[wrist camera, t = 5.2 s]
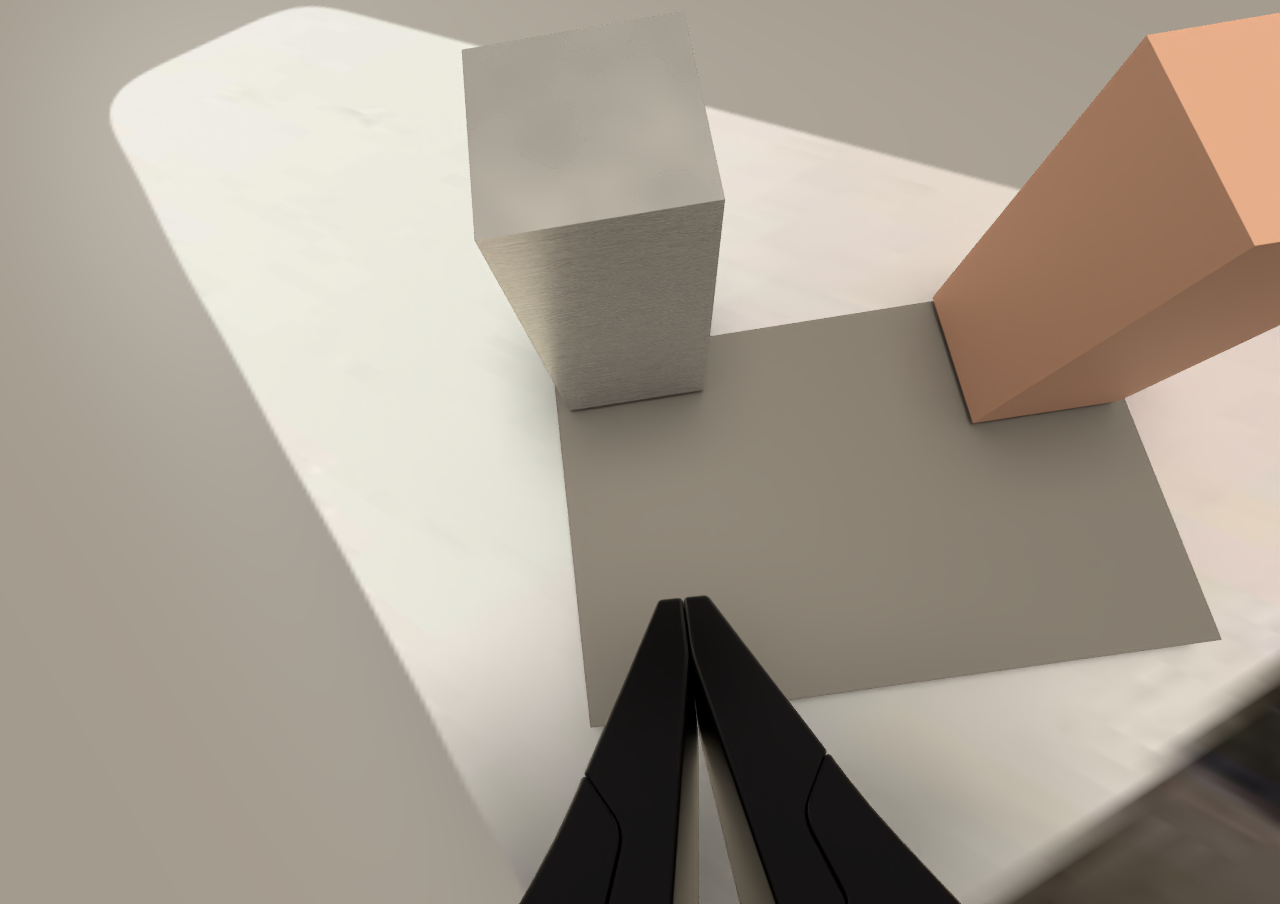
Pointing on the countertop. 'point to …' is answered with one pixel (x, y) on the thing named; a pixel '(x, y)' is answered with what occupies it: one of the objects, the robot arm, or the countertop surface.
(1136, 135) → the peach orange rectangular block
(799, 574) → the thin grey base plate
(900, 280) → the countertop surface
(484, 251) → the brushed grey block
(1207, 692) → the countertop surface
